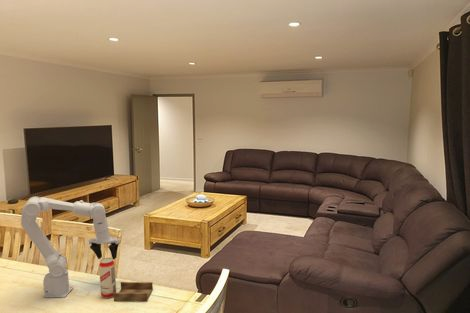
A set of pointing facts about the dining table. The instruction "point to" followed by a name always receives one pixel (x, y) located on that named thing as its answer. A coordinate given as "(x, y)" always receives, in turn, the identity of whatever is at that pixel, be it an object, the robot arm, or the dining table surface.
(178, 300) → the dining table surface
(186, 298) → the dining table surface
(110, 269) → the beer can
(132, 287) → the u rest
